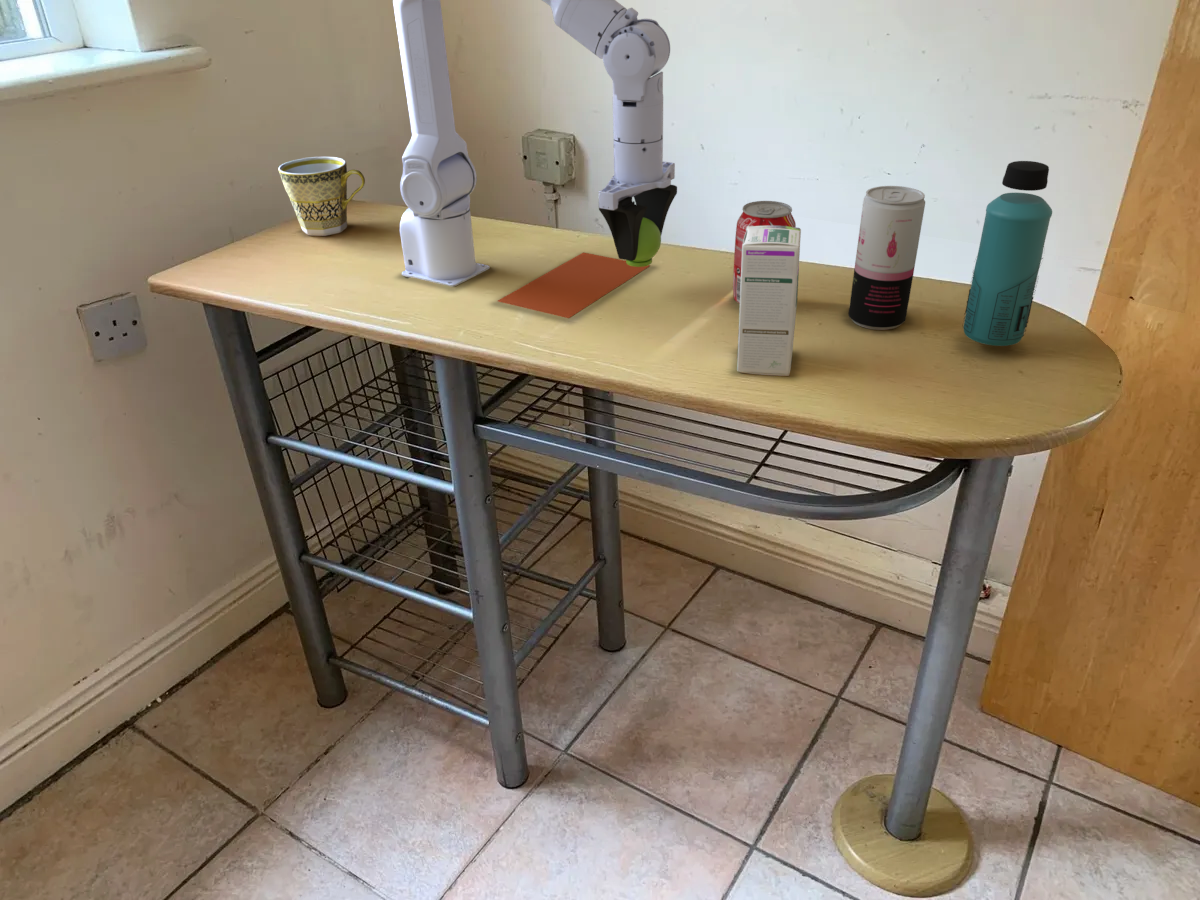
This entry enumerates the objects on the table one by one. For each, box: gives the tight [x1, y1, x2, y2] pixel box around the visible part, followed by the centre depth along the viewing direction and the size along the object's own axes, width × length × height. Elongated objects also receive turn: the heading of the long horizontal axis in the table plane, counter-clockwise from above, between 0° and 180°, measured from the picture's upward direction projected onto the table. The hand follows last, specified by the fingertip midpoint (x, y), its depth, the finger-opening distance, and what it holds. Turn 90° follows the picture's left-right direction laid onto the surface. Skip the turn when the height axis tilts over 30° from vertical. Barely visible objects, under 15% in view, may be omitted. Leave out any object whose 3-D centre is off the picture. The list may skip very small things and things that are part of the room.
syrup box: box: [736, 225, 802, 377], centre depth 94 cm, size 6×6×14 cm
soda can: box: [732, 200, 797, 305], centre depth 108 cm, size 7×7×12 cm
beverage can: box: [848, 185, 926, 331], centre depth 102 cm, size 6×7×15 cm
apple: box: [625, 217, 662, 267], centre depth 109 cm, size 5×5×7 cm
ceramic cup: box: [277, 156, 366, 237], centre depth 138 cm, size 13×10×10 cm
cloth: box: [497, 251, 651, 319], centre depth 118 cm, size 11×20×1 cm, turn 148°
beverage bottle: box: [962, 160, 1053, 347], centre depth 94 cm, size 6×7×20 cm
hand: (638, 251), depth 110 cm, fingers closed on apple, 5 cm apart
